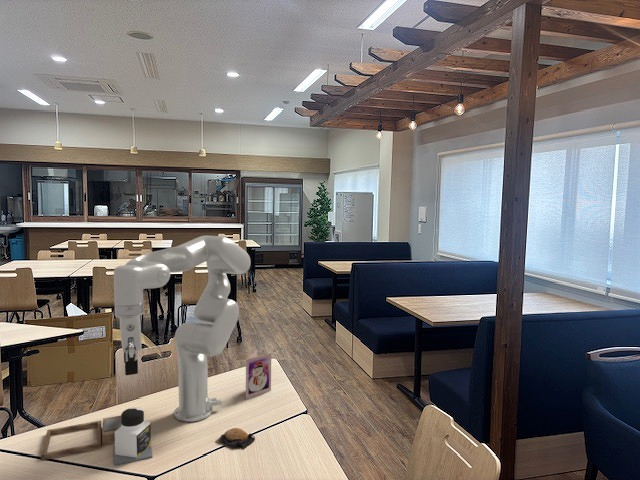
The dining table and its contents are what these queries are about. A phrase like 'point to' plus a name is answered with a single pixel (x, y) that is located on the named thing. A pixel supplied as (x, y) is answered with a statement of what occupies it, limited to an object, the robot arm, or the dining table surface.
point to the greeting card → (258, 374)
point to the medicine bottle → (132, 434)
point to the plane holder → (107, 431)
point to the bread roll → (236, 439)
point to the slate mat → (125, 459)
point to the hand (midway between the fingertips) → (130, 367)
